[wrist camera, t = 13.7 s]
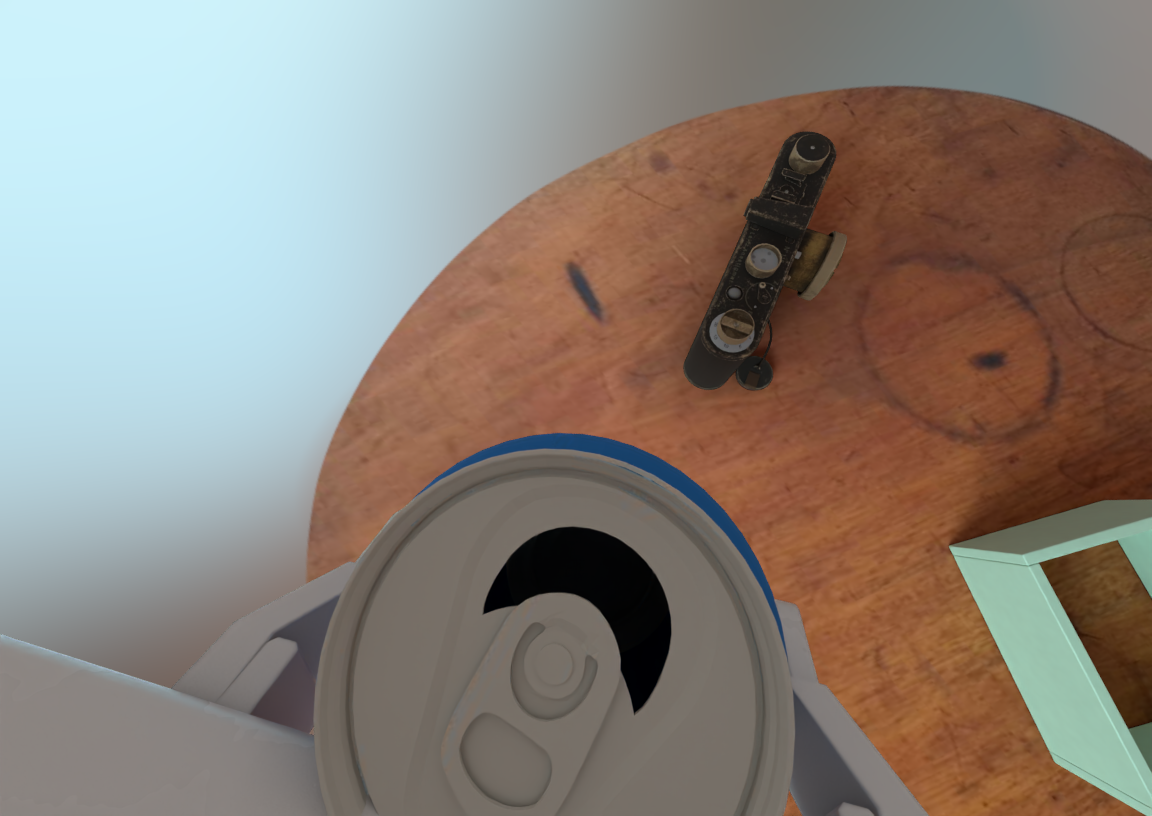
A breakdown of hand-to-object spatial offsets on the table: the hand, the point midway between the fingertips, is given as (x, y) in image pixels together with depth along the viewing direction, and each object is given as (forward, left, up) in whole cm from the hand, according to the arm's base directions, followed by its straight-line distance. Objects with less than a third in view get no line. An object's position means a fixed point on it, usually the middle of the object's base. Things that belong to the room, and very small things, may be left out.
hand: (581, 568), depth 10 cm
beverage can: (-1, 0, -7) cm, 7 cm away
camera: (+13, -16, -19) cm, 28 cm away
